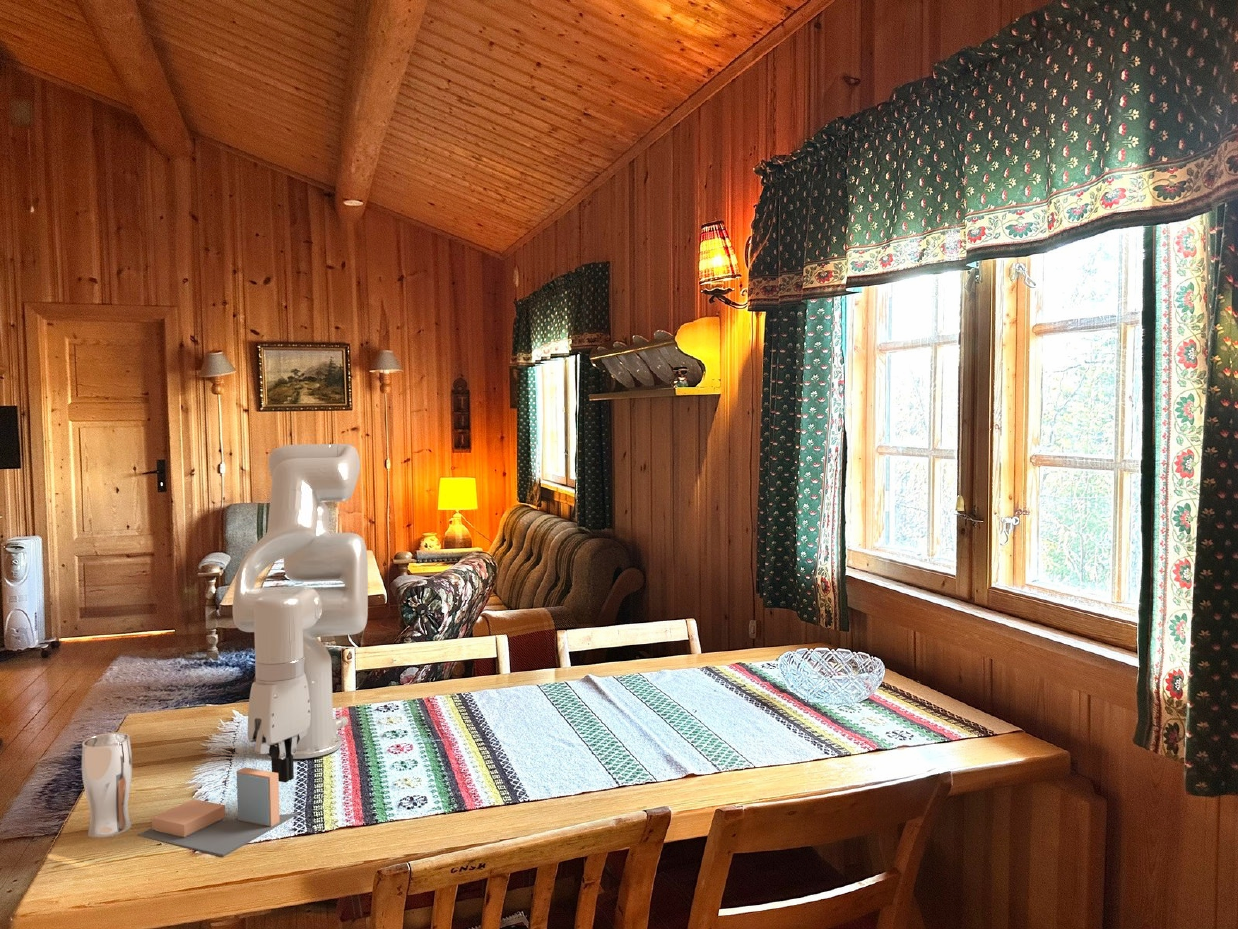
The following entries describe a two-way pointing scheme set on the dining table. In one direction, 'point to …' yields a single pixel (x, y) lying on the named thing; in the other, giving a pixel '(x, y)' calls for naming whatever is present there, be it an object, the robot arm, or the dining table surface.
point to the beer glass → (107, 782)
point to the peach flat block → (258, 796)
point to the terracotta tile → (188, 817)
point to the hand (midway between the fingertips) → (282, 779)
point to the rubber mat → (217, 836)
